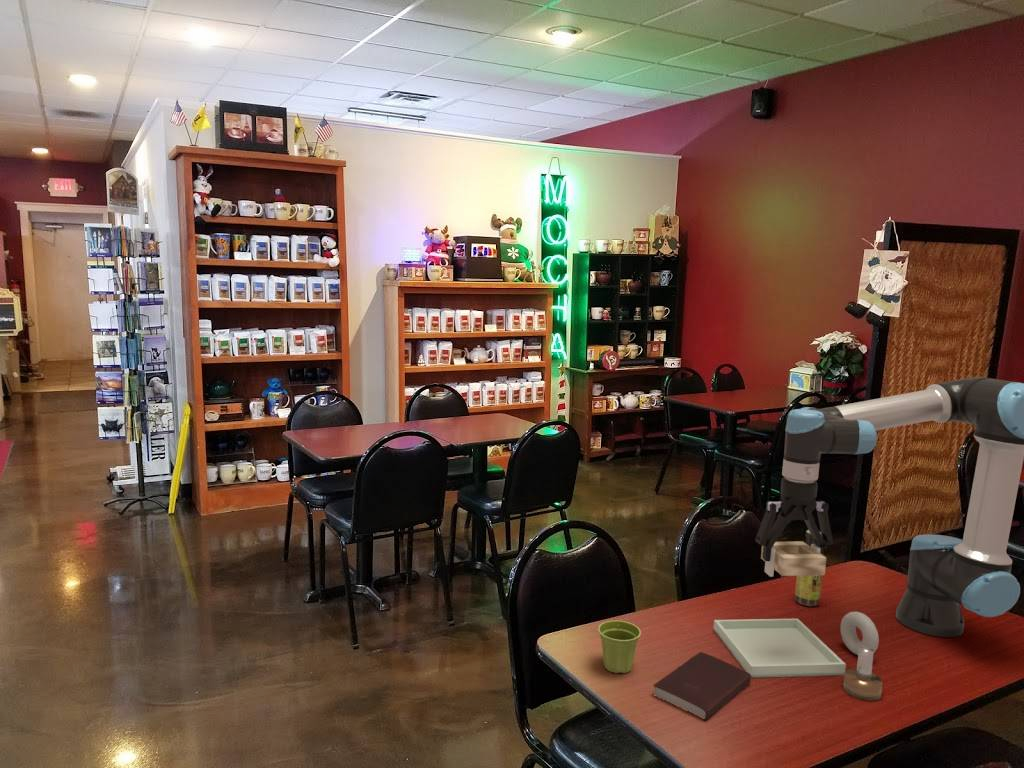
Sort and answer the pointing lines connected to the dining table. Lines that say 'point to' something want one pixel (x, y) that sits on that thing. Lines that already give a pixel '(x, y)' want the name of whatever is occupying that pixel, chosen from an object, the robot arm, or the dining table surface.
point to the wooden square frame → (797, 559)
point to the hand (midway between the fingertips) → (791, 573)
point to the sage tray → (778, 648)
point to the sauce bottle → (808, 583)
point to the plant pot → (618, 644)
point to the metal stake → (863, 678)
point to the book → (702, 684)
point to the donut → (866, 628)
